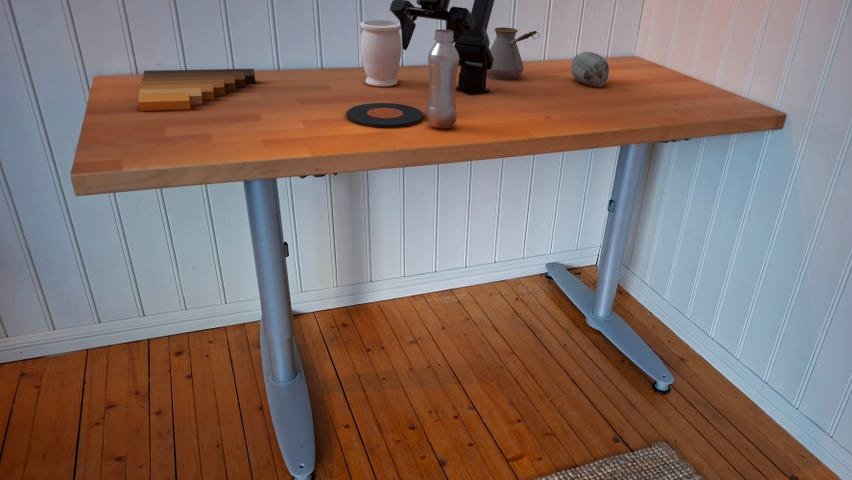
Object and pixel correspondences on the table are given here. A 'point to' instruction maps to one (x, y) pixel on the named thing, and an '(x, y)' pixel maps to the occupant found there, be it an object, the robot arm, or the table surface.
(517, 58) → the coffee pot
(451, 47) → the plastic bottle
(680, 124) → the table surface
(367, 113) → the ring
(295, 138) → the table surface
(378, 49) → the jar
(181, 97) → the pan flute
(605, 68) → the grey river stone
